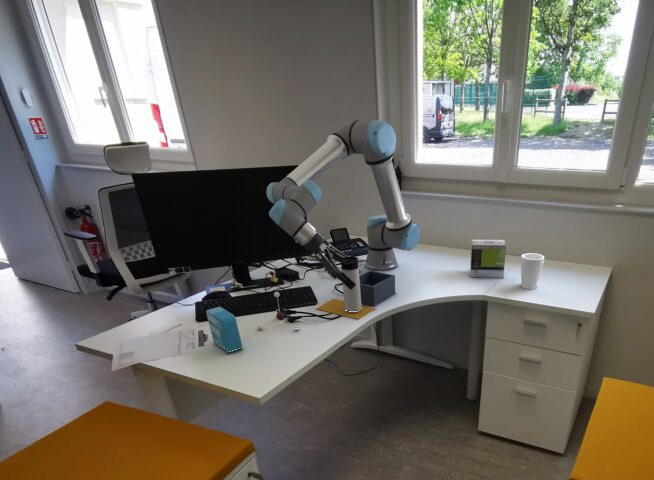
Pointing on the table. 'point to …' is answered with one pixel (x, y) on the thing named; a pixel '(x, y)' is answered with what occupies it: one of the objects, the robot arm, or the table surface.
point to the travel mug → (352, 271)
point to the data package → (224, 329)
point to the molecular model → (278, 315)
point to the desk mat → (343, 309)
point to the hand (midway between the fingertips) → (356, 280)
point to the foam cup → (530, 269)
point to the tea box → (487, 258)
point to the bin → (376, 287)
